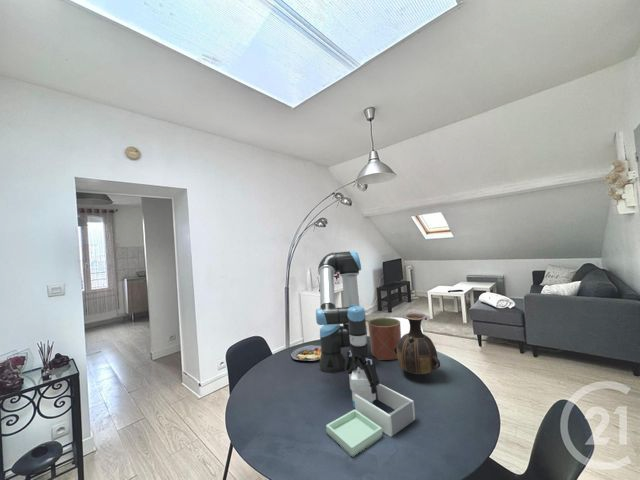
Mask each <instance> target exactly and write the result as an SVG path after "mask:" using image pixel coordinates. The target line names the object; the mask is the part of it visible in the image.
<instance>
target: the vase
mask: <svg viewBox="0 0 640 480" xmlns="http://www.w3.org/2000/svg"><path fill="white" fill-rule="evenodd" d="M402 318H403V319H406V320H408V324H409V332H407V333H405V334H403V335H401V339H400V341H399V343H398V346H396V347H395V349H394V351H395V353H396V355H397V359H396V360H397V362H398V365H399V367H400V368H401V369H402V370H404V371H406V372H407V373H410V374H414V375H426V374H431V373H432V372H434V371H436V370H437V369H439V368H441V367H440V366H441V361H440V359H439V358H438V352H437V349H436V345H435V344H434V342H433V341H432V339H431V338H430V337H428V336H427V335H426V334H424V333H423V331H422V321H423V320H424V321H427V320H428V315H427V314H424V313H423V312H421V313H420V312H407V313H404V314H402ZM396 348H397V350H396Z"/></svg>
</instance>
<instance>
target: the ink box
mask: <svg viewBox="0 0 640 480" xmlns="http://www.w3.org/2000/svg"><path fill="white" fill-rule="evenodd" d="M356 367H357V368H356V369H354V370H352V376H351V386H352V390H351V396H352V398H351V399H352V406H353V408H355V398H354V395H355V394H357V395H358V396H360V397H362V398H363V399H365V400H367V401H368V402H370V403H372V404H373V405H374V401H372V402H371V401H370V394H369V385H370V383H369V381H368V379H367V376H366V374H365V372H364V370H363V369H362V368H361V367H360V366H356Z"/></svg>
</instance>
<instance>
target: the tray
mask: <svg viewBox="0 0 640 480" xmlns="http://www.w3.org/2000/svg"><path fill="white" fill-rule="evenodd" d="M325 430H326V431H325V432H326V435H328V437H329V438H331V439H332V440H333V441H334V442H335V443H336V444H337V443H338V444H339V445H340V446H339V447H341V448H342V449H343V450H344V451H345V452H346V453H347V455H349V456H350V455H351V456H352V457H353V458H354V457H356V456H357V455H358V453H359V452H360V453H362V452H363V451H365V450H366V449H367V448H369V447H370V446H372V445H373V444H375V442H377V441H379V440H380V439H381V438H383V436H384V435H383V431H382V428H381V427H380V426H378V425H377V424H375V423H374V422H373V421H371V420H370V419H368V418H367V417H365V416H364V415H362V414H361V413H360V412H358V411H357V410H355V409H352V410H351V411H348V412H347V413H345V414H344V415H342V416H340V417H338V418H337V419H335V420H333V421H331V422H329V423H327V424H325ZM338 444H337V445H338ZM365 448H366V449H365ZM362 450H363V451H362ZM360 453H359V454H360ZM356 454H357V455H356ZM355 455H356V456H355ZM351 456H350V457H351ZM352 457H351V458H352Z"/></svg>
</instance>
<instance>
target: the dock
mask: <svg viewBox="0 0 640 480" xmlns="http://www.w3.org/2000/svg"><path fill="white" fill-rule="evenodd" d="M376 394H377V395H376V397H377V400H378V401H379V402H381V403H383V404H384V405H386V406H387V407H389V408H391V409H393V411H392V412H389V413H387V412H386V411H384V410H383V409H381V408H380V407H378V406H376V405H375V404H374V403H373V404H372V403H370V402H368V401H367V400H365V399H363V398H362V397H360V396H358V395H357V394H355V395H354V398H355V407H354V408H355V410H357V411H358V412H360V413H361V414H362V415H364V416H365V417H367V418H368V419H370V420H371V421H373V422H374V423H375V424H377V425H378V426H380V427H381V428H382V433H384V434H386V435H387V436H389V437H390V438H391V437H393V436H394V435H396V434H397V433H399V432H400V431H401V430H402V429H404V428H406V427H407V426H408V425H410V424H412V422H414V421H415V420H416V412H415V403H414V400H413V399H412V398H409V397H407V396H405V395H403V394H401V393H399V392H397V391H395V390H393V389H391V388H389V387H387V386H386V385H383V384H381V383H380V384H379V385H377V386H376Z"/></svg>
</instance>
